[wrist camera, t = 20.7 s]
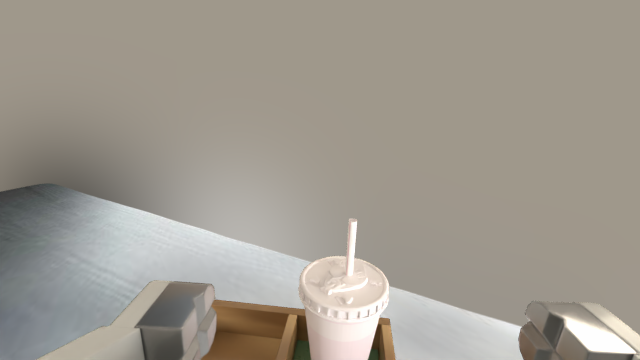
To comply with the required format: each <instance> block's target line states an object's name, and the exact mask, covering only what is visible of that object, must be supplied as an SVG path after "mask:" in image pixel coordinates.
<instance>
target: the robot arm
mask: <svg viewBox="0 0 640 360" xmlns="http://www.w3.org/2000/svg"><path fill="white" fill-rule="evenodd" d="M214 299H215V290H214V286H213V285H212V284H204V283H191V282H177V281H174V282H172V281H160V280H154V281H152V282H149V283H148V284H147V285H146V287H145V288H144V289H143V290H142V291H141V292H140V293H139V294H138V295H137V296H136V297H135V299H134V300H133V301H132V302H131V303H130V304H129V305H128V306H127V307H126V308H125V309H124V311H123V312H122V313H121V314H120V315H119V316H118V317H117V318H116V319H115V320H114V321H113V322H112V324H111V325H110V326H109V327H108V326H102V327H100V328H98V329H96V330H94V331H92V332H90V333H88V334H86V335H84V336H82V337H80V338H78V339H76V340H74V341H72V342H70V343H68V344H66V345H64V346H62V347H60V348H58V349H56V350H54V351H52V352H50V353H48V354H46V355H44V356H42V357H40V358H38V359H36V360H201V358H202V357H203V356H204V355H206V354H207V353H208V352H209V350H210V348H211V346H212V343H213V340H214V336H215V332H216V325H217V314H216V311H215V310H214V309H213V308H212V307H211V305H212V303H213V301H214ZM525 315H526V317H527V318H528V320H529V322H528V323H527V324H525V325H524V326H523V327H522V328H521V330H520V334H519V338H518V341H519V347H520V352H521V354H522V357H523V359H524V360H640V335H639V334H637V333H636V332H635V331H634V330H632V329H631V328H630V327H628V326H627V325H626V324H625V323H623V322H622V321H621V320H620V319H618V318H617V317H616V316H615V315H613V314H612V313H610V312H609V311H608V310H607V309H605V308H604V307H603V306H601V305H599V304H596V303H585V302H573V303H564V302H542V301H532V302H531V303H530V304H529V305H528V307H527V310H526V313H525Z"/></svg>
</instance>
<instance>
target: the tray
mask: <svg viewBox="0 0 640 360" xmlns="http://www.w3.org/2000/svg"><path fill="white" fill-rule="evenodd" d="M211 307H212V308H213V309H214V310H215V311H216V314H217V325H216V332H215V336H214V340H213V343H212V346H211V348H210V350H209V352H208V353H207V354H206V355H204V356H203V357H202V358H201V360H311V355H310V347H309V339H308V330H307V322H306V315H305V309H296V308H287V307H278V306H269V305H260V304H251V303H241V302H232V301H223V300H214V301H213V303H212V305H211ZM368 360H395V353H394V346H393V340H392V333H391V326H390V319H388V318H379V321H378V325H377V328H376V332H375V335H374V339H373V343H372V347H371V350H370V354H369V358H368Z"/></svg>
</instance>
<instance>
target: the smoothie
mask: <svg viewBox="0 0 640 360" xmlns="http://www.w3.org/2000/svg"><path fill="white" fill-rule="evenodd" d="M356 225H357V220H356V219H349V224H348V239H347V254H346V256H331V257H325V258H321V259H318V260H316V261H314V262H312V263H310V264H309V265H307V266H306V267H305V268H304V269H303V271H302V273H301V275H300V284H299V288H298V291H299V297H300V299H301V301H302V303H303V304H304V306H305V315H306V322H307V330H308V339H309V347H310V355H311V360H368V358H369V354H370V350H371V347H372V343H373V339H374V335H375V332H376V328H377V325H378V321H379V317H380V314H381V313H382V312H383V310H384V309H385V308H386V306H387V304H388V300H389V295H388V292H389V284H388V280H387V278H386V276H385V275H384V274H383V272H382V271H381V270H379V269H378V268H377V267H376V266H374V265H372V264H371V263H368V262H366V261H364V260H361V259H358V258H354V252H355V239H356Z"/></svg>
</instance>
